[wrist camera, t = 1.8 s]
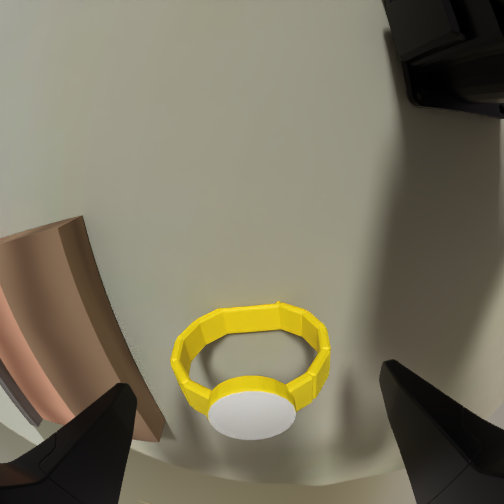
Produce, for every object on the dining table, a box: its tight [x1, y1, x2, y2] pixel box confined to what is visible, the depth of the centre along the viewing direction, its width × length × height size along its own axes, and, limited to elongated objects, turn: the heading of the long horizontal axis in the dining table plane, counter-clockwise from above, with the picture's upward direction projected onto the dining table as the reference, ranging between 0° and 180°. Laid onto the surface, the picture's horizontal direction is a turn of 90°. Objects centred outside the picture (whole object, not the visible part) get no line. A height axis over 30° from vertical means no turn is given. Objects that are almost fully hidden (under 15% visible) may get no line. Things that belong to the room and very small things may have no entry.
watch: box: [170, 301, 331, 440], centre depth 10 cm, size 6×3×6 cm, turn 97°
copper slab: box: [0, 216, 165, 442], centre depth 13 cm, size 12×14×3 cm
